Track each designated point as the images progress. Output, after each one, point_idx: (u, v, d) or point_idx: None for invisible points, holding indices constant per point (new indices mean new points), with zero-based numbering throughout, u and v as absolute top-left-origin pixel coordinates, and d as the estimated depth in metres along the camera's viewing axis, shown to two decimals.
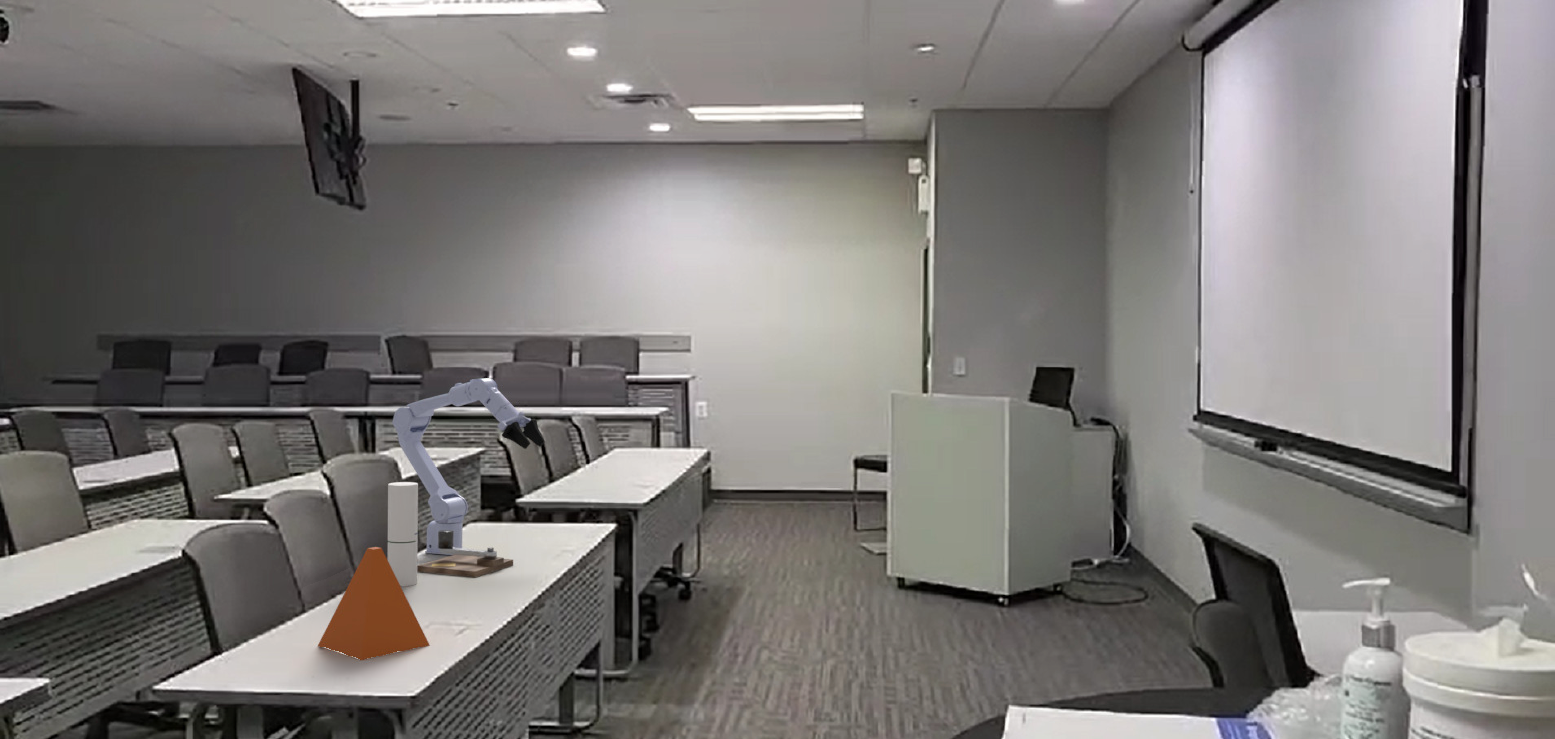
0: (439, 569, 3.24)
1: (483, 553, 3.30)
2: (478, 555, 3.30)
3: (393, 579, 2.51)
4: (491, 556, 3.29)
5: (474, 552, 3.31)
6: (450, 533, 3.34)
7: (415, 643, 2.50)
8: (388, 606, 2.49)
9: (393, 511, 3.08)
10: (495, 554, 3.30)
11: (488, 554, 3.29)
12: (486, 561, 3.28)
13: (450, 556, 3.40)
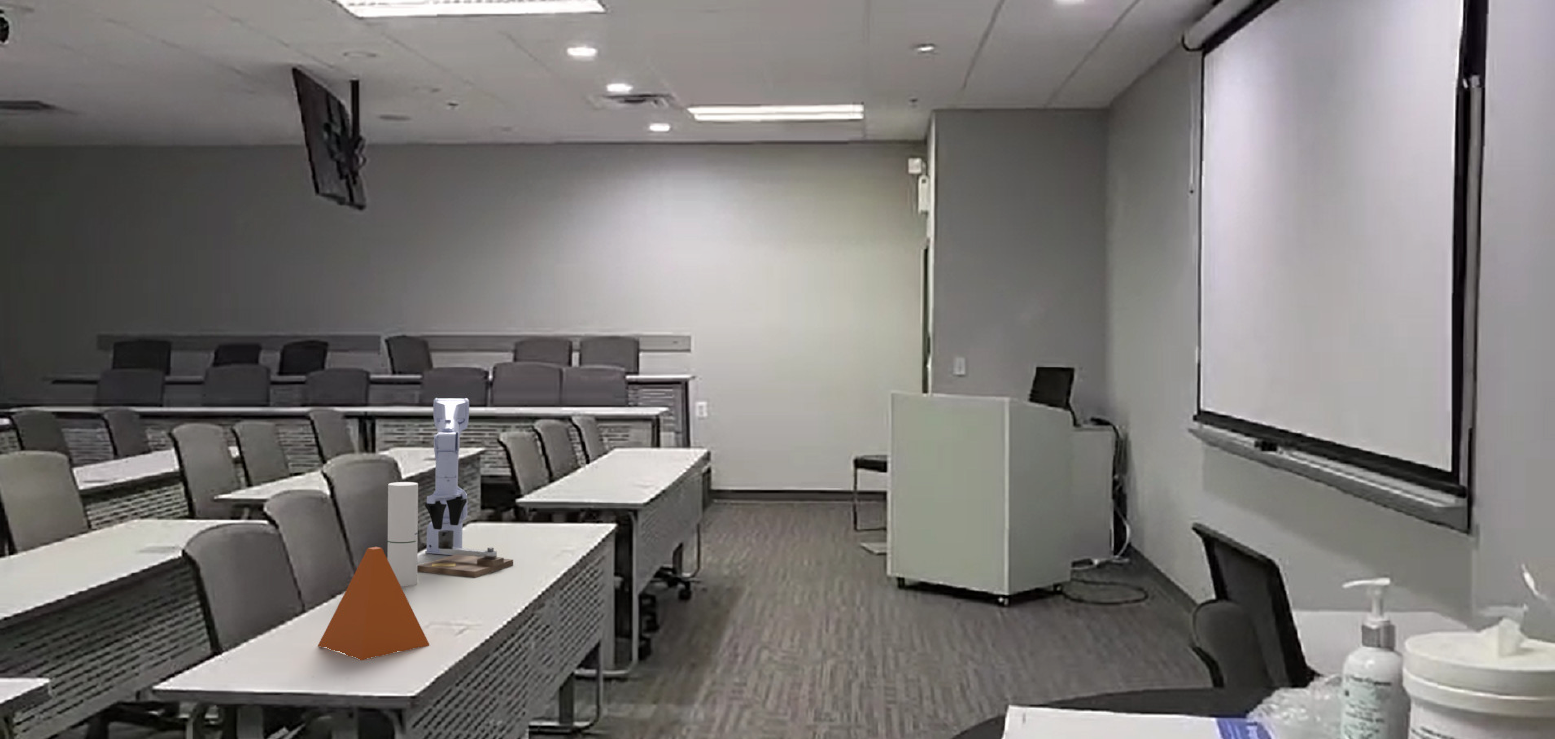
0: (439, 569, 3.24)
1: (483, 553, 3.30)
2: (478, 555, 3.30)
3: (393, 579, 2.51)
4: (491, 556, 3.29)
5: (474, 552, 3.31)
6: (450, 533, 3.34)
7: (415, 643, 2.51)
8: (389, 606, 2.49)
9: (393, 511, 3.08)
10: (495, 554, 3.30)
11: (488, 554, 3.29)
12: (486, 561, 3.28)
13: (450, 556, 3.40)
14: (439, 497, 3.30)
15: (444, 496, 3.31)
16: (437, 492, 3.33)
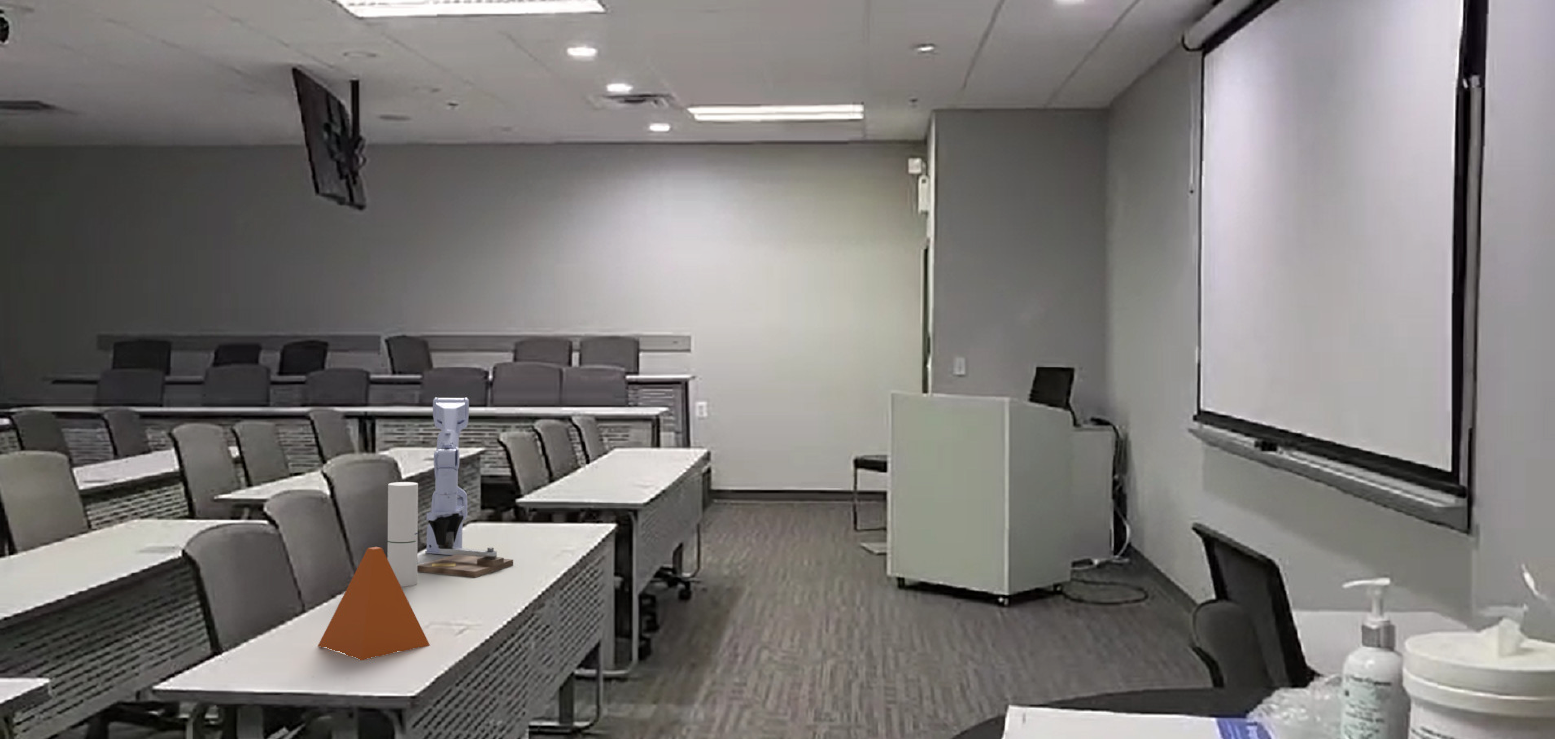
0: (439, 569, 3.24)
1: (483, 553, 3.30)
2: (478, 555, 3.30)
3: (393, 579, 2.51)
4: (491, 556, 3.29)
5: (474, 552, 3.31)
6: (450, 533, 3.34)
7: (415, 643, 2.51)
8: (389, 606, 2.49)
9: (393, 511, 3.08)
10: (495, 554, 3.30)
11: (488, 554, 3.29)
12: (486, 561, 3.28)
13: (450, 556, 3.40)
14: (439, 514, 3.30)
15: (444, 513, 3.31)
16: (437, 509, 3.33)
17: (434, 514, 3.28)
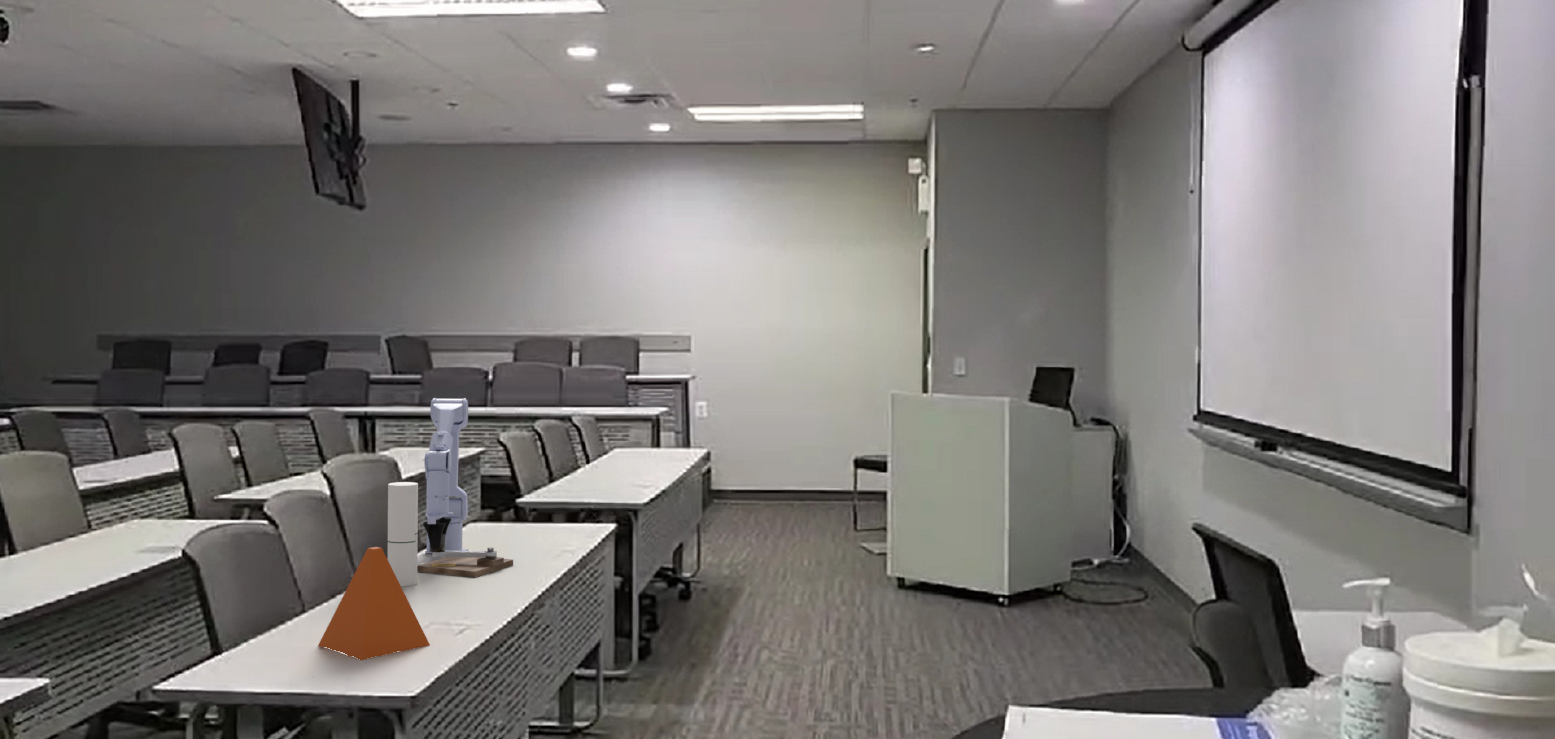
0: (439, 569, 3.24)
1: (484, 553, 3.29)
2: (478, 556, 3.29)
3: (393, 579, 2.51)
4: (493, 556, 3.29)
5: (473, 553, 3.29)
6: (444, 536, 3.29)
7: (415, 643, 2.51)
8: (389, 606, 2.49)
9: (393, 511, 3.08)
10: (496, 554, 3.31)
11: (490, 554, 3.29)
12: (486, 561, 3.28)
13: None
14: (438, 517, 3.25)
15: (442, 516, 3.26)
16: (431, 512, 3.27)
17: (435, 517, 3.23)
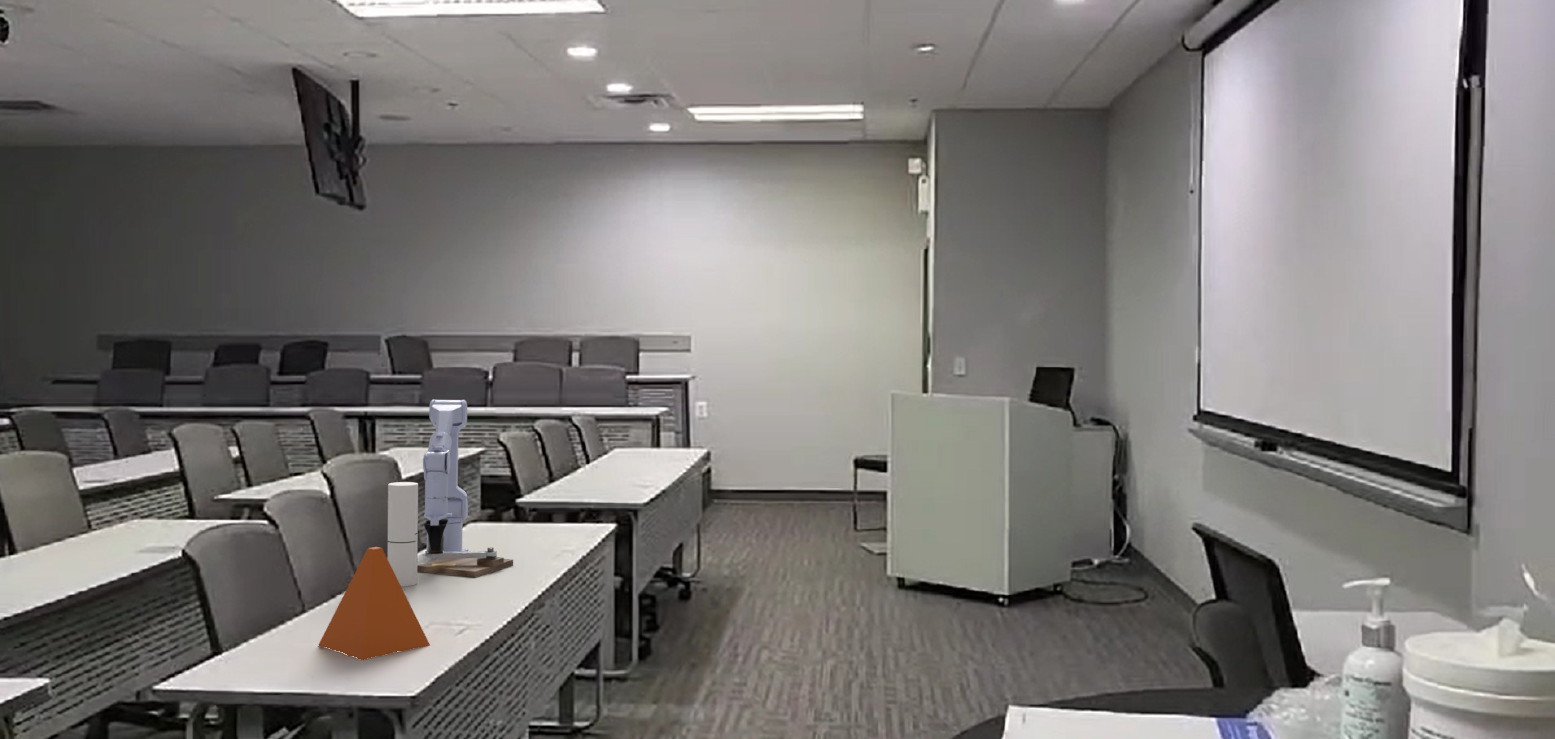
0: (439, 569, 3.24)
1: (485, 554, 3.29)
2: (479, 556, 3.29)
3: (393, 579, 2.51)
4: (494, 556, 3.30)
5: (474, 554, 3.29)
6: (443, 537, 3.27)
7: (415, 643, 2.51)
8: (389, 606, 2.49)
9: (393, 511, 3.08)
10: (496, 553, 3.31)
11: (491, 554, 3.29)
12: (486, 561, 3.28)
13: None
14: (440, 518, 3.23)
15: (443, 517, 3.24)
16: (431, 513, 3.24)
17: (438, 519, 3.21)
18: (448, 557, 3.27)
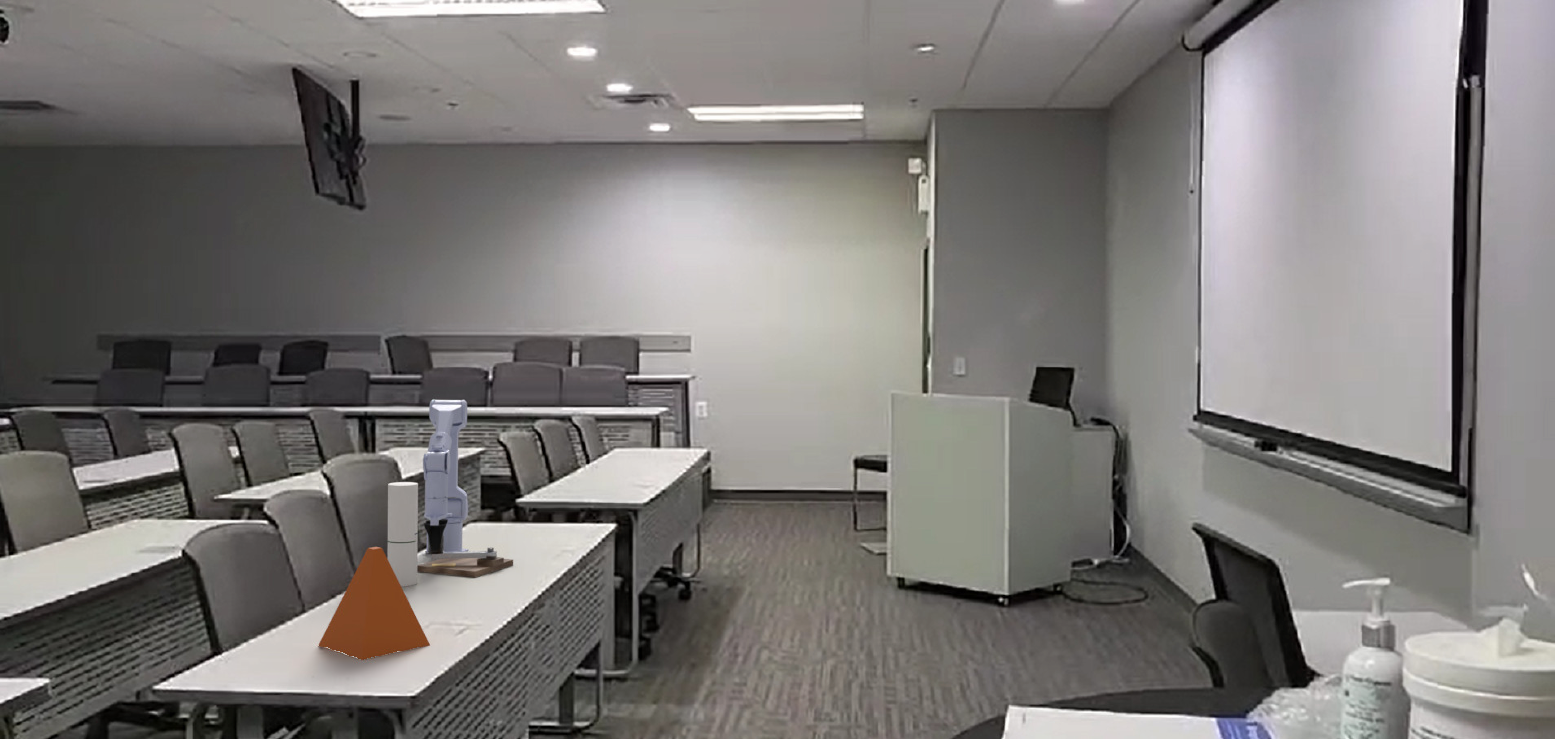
0: (439, 569, 3.24)
1: (485, 554, 3.29)
2: (479, 556, 3.29)
3: (393, 579, 2.51)
4: (494, 556, 3.30)
5: (474, 554, 3.28)
6: (443, 537, 3.27)
7: (415, 643, 2.51)
8: (389, 606, 2.49)
9: (393, 511, 3.08)
10: (496, 553, 3.31)
11: (491, 554, 3.29)
12: (486, 561, 3.28)
13: None
14: (440, 518, 3.23)
15: (443, 517, 3.24)
16: (431, 513, 3.24)
17: (438, 519, 3.21)
18: (448, 557, 3.27)
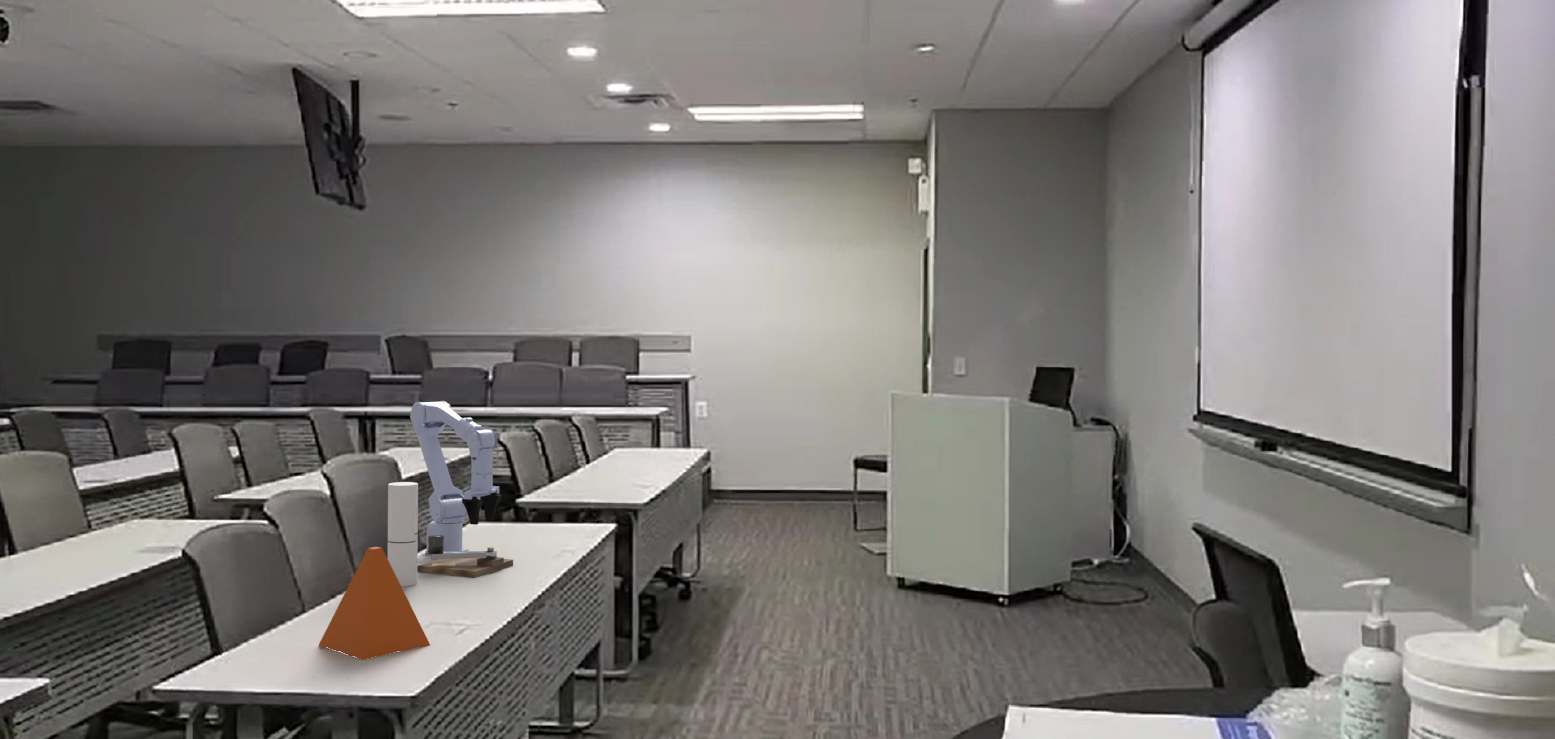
0: (439, 569, 3.24)
1: (485, 554, 3.29)
2: (479, 556, 3.29)
3: (393, 579, 2.51)
4: (494, 556, 3.30)
5: (474, 554, 3.28)
6: (443, 537, 3.27)
7: (415, 643, 2.51)
8: (389, 606, 2.49)
9: (393, 511, 3.08)
10: (496, 553, 3.31)
11: (491, 554, 3.29)
12: (486, 561, 3.28)
13: None
14: (476, 493, 3.38)
15: (480, 492, 3.40)
16: (473, 488, 3.41)
17: (471, 493, 3.37)
18: (448, 557, 3.27)
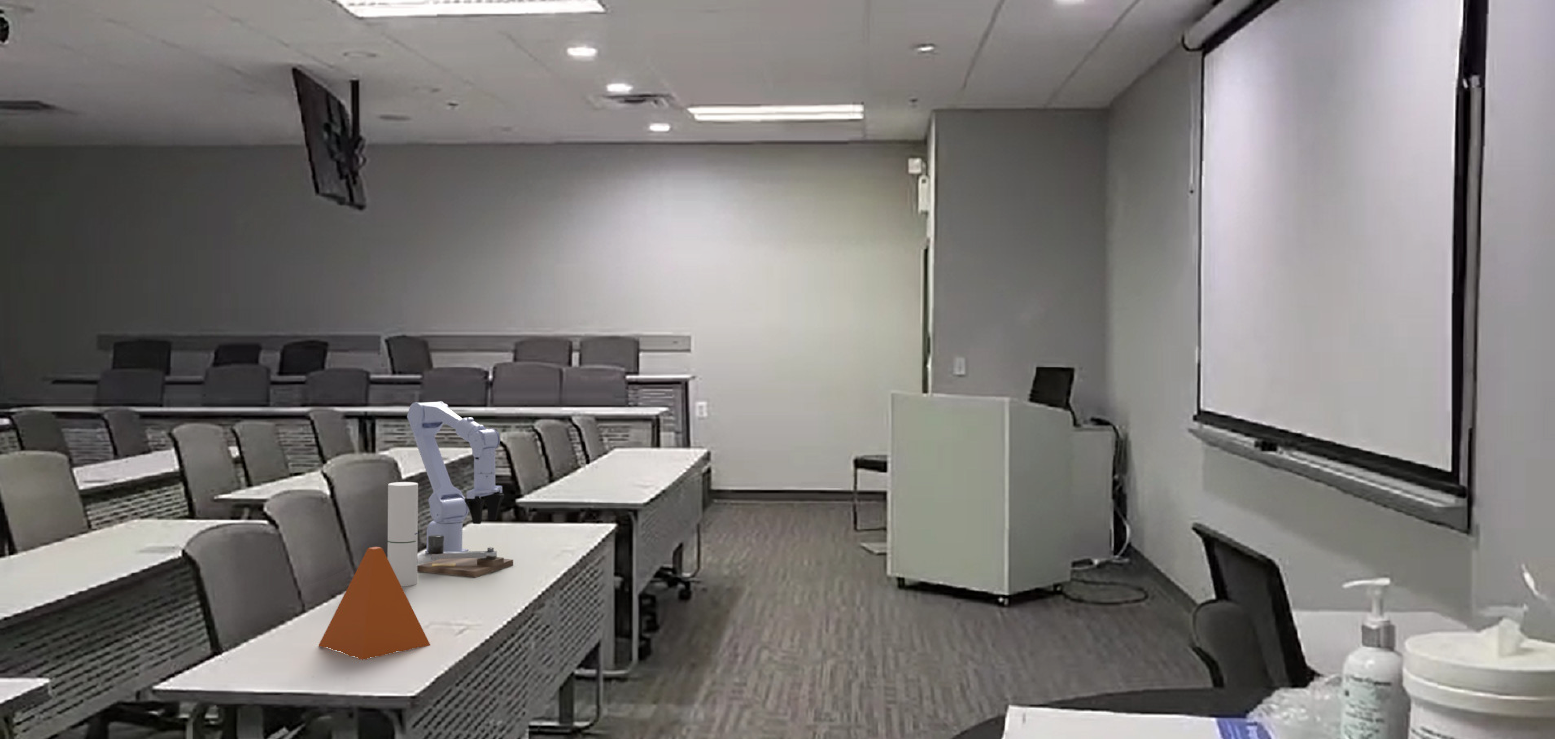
0: (439, 569, 3.24)
1: (485, 554, 3.29)
2: (479, 556, 3.29)
3: (393, 579, 2.51)
4: (494, 556, 3.30)
5: (474, 554, 3.28)
6: (443, 537, 3.27)
7: (415, 643, 2.51)
8: (389, 606, 2.49)
9: (393, 511, 3.08)
10: (496, 553, 3.31)
11: (491, 554, 3.29)
12: (486, 561, 3.28)
13: None
14: (478, 492, 3.39)
15: (483, 491, 3.40)
16: (476, 488, 3.42)
17: (474, 492, 3.38)
18: (448, 557, 3.27)
